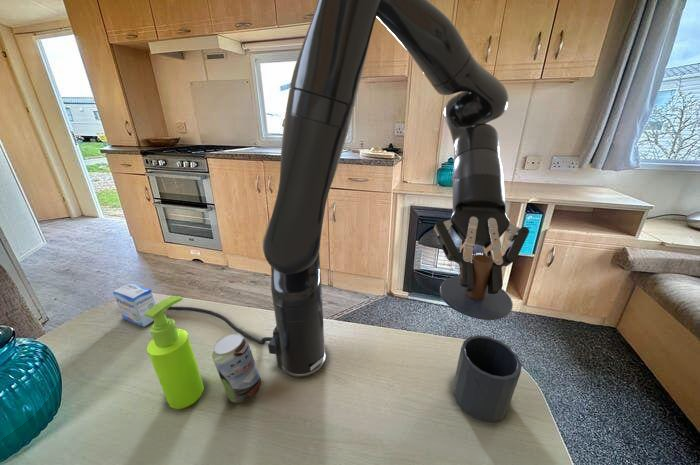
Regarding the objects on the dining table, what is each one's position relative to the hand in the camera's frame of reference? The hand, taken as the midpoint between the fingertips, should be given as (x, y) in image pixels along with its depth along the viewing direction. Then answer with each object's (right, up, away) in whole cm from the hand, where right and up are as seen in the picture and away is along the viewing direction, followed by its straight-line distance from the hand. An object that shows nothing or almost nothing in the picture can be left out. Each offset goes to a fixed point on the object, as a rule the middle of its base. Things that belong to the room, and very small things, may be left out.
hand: (481, 291), depth 39 cm
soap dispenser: (-49, -22, +14) cm, 56 cm away
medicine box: (-72, -14, +32) cm, 80 cm away
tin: (+6, -22, +13) cm, 26 cm away
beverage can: (-39, -22, +14) cm, 47 cm away
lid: (0, -2, +3) cm, 3 cm away
